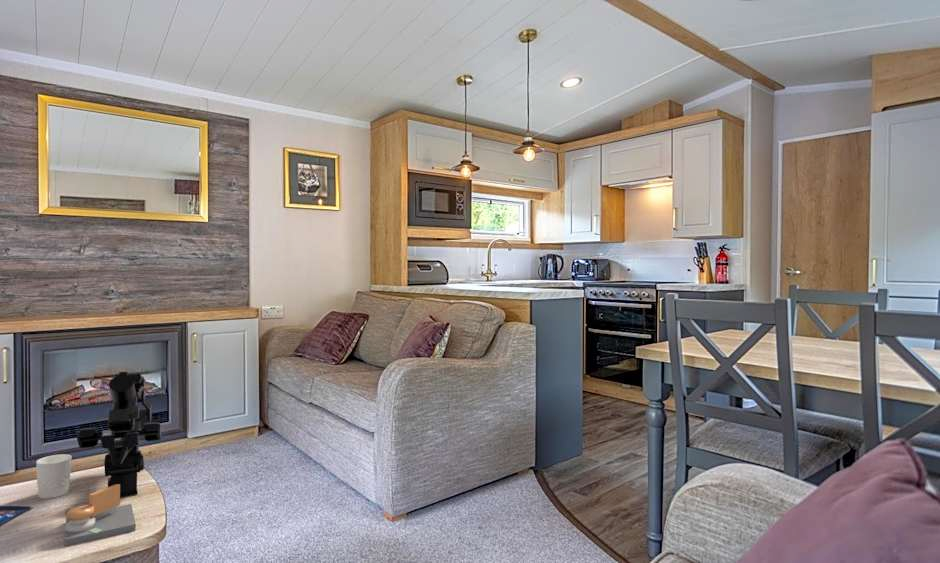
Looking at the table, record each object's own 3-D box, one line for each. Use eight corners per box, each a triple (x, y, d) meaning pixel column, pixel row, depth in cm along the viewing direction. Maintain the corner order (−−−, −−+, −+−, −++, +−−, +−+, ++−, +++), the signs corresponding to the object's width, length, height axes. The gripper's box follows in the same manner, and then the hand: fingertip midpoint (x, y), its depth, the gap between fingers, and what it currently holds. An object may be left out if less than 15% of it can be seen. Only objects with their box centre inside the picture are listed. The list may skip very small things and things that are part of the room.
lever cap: (77, 527, 123) (77, 504, 123) (61, 523, 125) (62, 501, 125) (125, 506, 134) (125, 485, 134) (110, 502, 136) (111, 482, 136)
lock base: (131, 509, 140) (131, 494, 140) (135, 530, 128) (136, 514, 128) (66, 522, 131) (66, 506, 131) (64, 547, 120) (65, 529, 120)
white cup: (31, 501, 143) (32, 465, 143) (39, 491, 150) (40, 456, 150) (67, 497, 146) (68, 461, 146) (73, 486, 153) (74, 452, 153)
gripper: (79, 398, 137) (68, 453, 128) (161, 393, 146) (156, 444, 136) (84, 421, 145) (74, 474, 135) (162, 414, 153) (158, 464, 143)
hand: (117, 463), depth 137 cm, fingers closed
